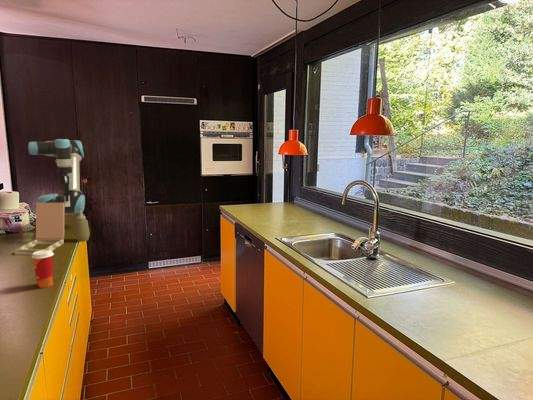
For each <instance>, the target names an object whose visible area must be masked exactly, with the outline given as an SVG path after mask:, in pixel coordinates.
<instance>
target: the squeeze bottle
mask: <svg viewBox="0 0 533 400" xmlns="http://www.w3.org/2000/svg"><path fill="white" fill-rule="evenodd" d="M90 234H91V232H90V227H89V222H88V219H87V217H86V215H84V213H83V212H82V210H79V213H78V215H77V216H76V220H75V221H74V237H75V239H76V242H79V243H83V242H88V241H89V238H90Z"/></svg>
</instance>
